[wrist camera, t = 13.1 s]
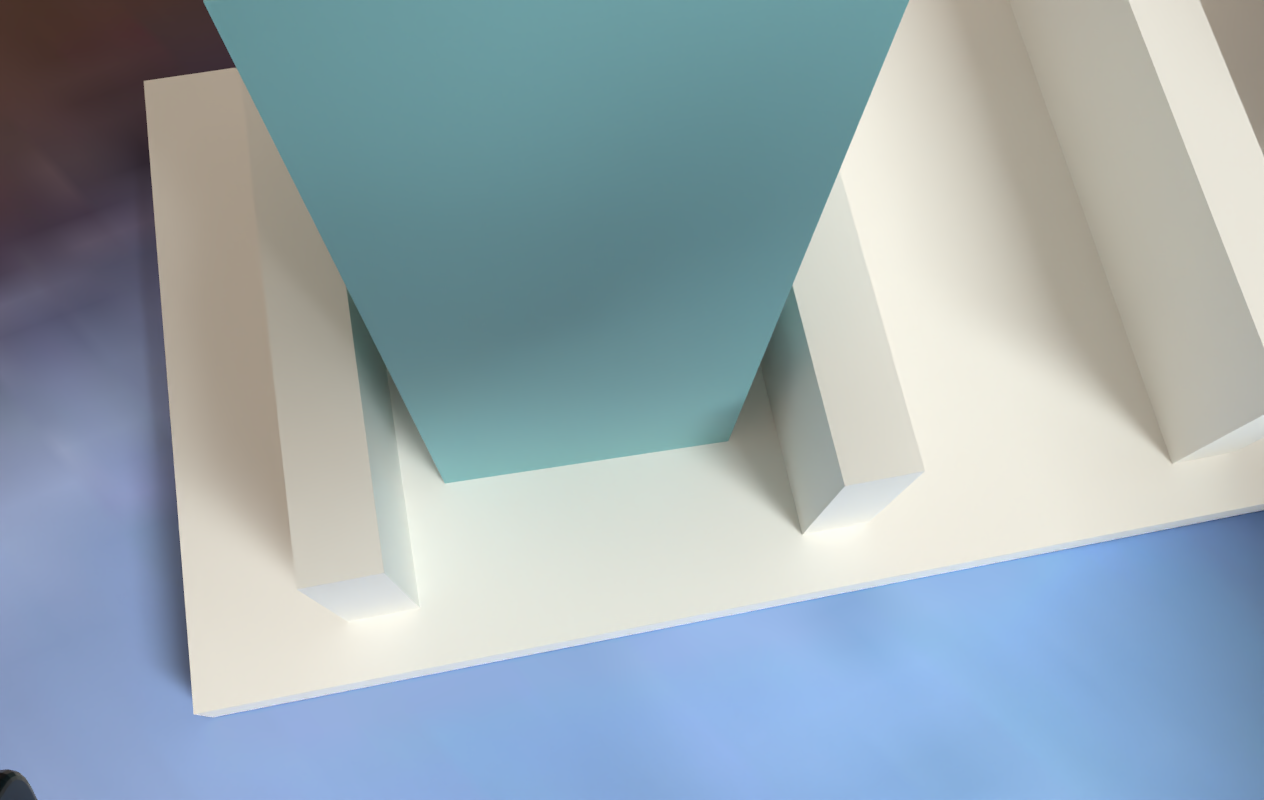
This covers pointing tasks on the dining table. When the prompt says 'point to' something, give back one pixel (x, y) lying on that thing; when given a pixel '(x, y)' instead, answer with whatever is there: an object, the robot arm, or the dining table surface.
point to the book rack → (783, 385)
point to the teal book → (563, 198)
